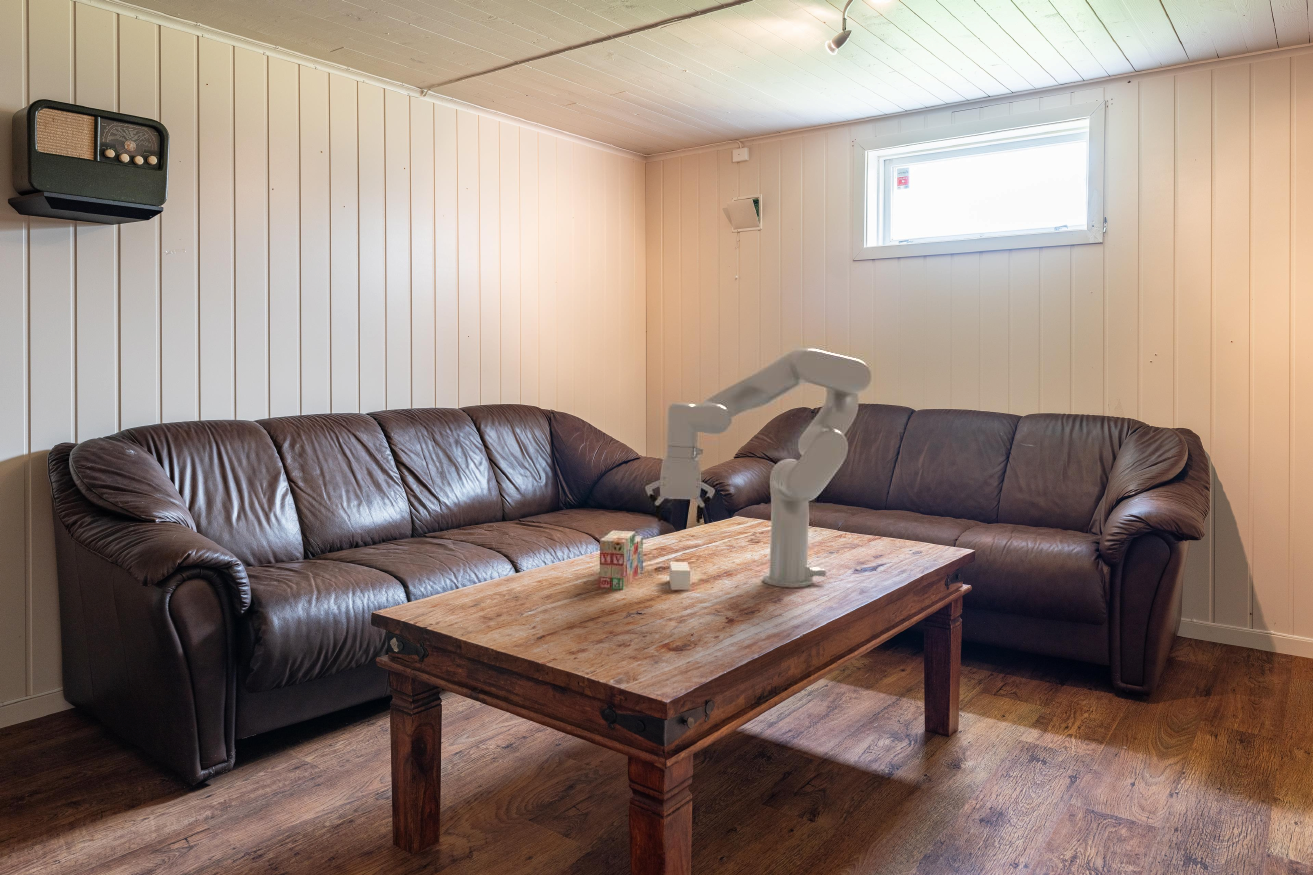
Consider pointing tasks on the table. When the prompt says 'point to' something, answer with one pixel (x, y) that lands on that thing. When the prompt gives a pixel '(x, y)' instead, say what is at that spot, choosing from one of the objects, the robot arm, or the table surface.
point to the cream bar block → (679, 576)
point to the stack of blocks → (620, 559)
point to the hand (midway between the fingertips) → (678, 521)
